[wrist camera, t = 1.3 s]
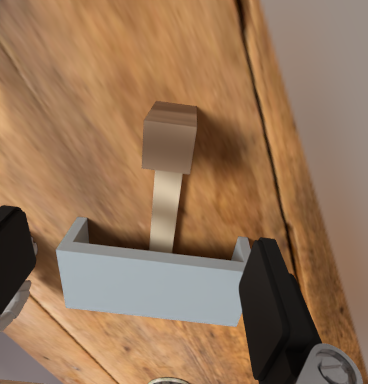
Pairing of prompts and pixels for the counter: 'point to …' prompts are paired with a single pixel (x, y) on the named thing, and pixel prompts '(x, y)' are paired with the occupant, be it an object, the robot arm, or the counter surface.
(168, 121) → the cube on stick
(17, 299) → the mug
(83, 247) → the bench
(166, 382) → the coffee can
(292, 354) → the robot arm
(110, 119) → the counter surface
